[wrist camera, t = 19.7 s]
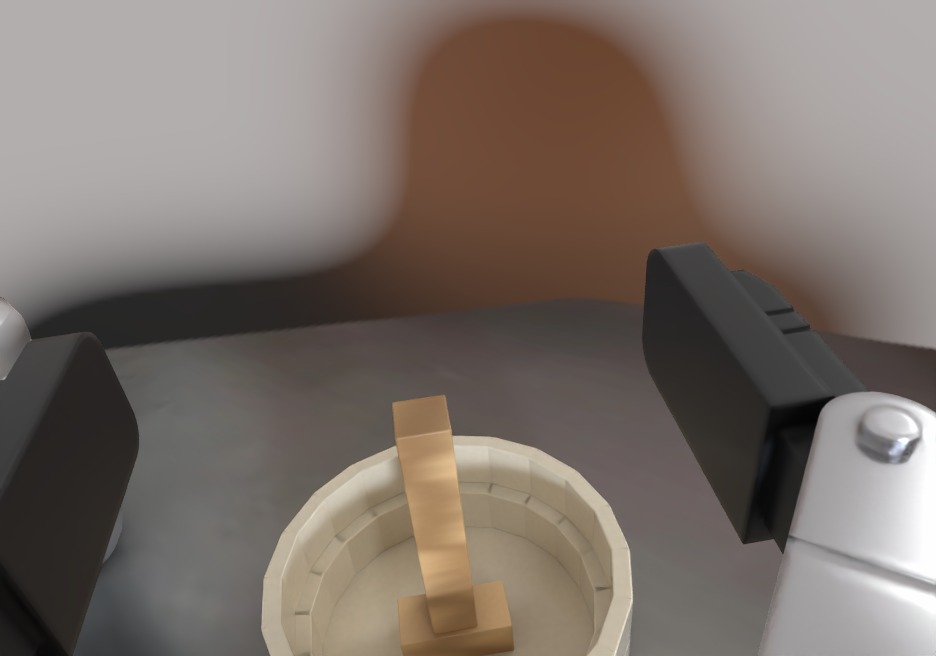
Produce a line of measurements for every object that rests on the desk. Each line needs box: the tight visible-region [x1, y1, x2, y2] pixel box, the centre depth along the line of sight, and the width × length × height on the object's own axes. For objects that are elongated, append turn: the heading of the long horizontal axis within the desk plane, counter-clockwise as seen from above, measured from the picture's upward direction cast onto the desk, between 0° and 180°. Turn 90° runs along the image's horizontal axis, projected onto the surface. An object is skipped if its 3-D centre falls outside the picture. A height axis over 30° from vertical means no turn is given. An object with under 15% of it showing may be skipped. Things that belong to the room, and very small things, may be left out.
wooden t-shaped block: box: [392, 395, 514, 656], centre depth 30 cm, size 5×2×14 cm, turn 98°
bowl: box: [261, 436, 633, 656], centre depth 33 cm, size 16×16×6 cm
